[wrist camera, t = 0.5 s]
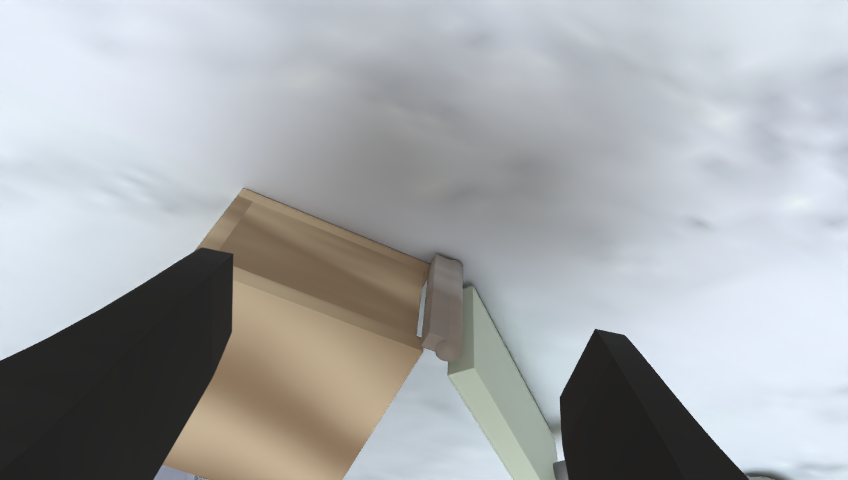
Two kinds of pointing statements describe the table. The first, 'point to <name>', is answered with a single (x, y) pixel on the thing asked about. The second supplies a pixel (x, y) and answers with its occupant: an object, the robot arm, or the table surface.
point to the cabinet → (311, 344)
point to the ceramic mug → (760, 478)
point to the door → (502, 399)
